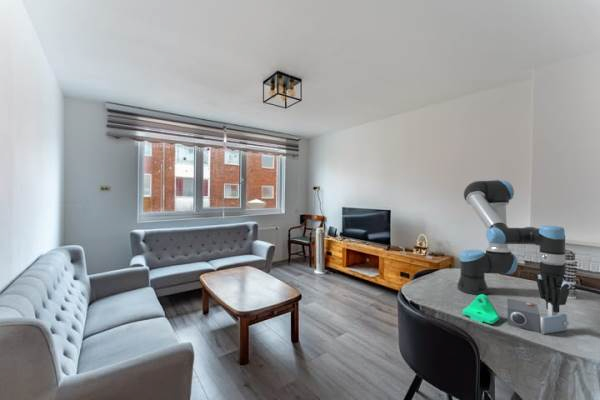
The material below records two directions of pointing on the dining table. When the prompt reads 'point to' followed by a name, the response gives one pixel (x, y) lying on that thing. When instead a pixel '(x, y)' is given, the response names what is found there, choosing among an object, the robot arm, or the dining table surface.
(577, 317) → the dining table surface
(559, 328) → the side door
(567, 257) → the decorative candle
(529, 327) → the housing
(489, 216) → the robot arm
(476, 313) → the camera mount
